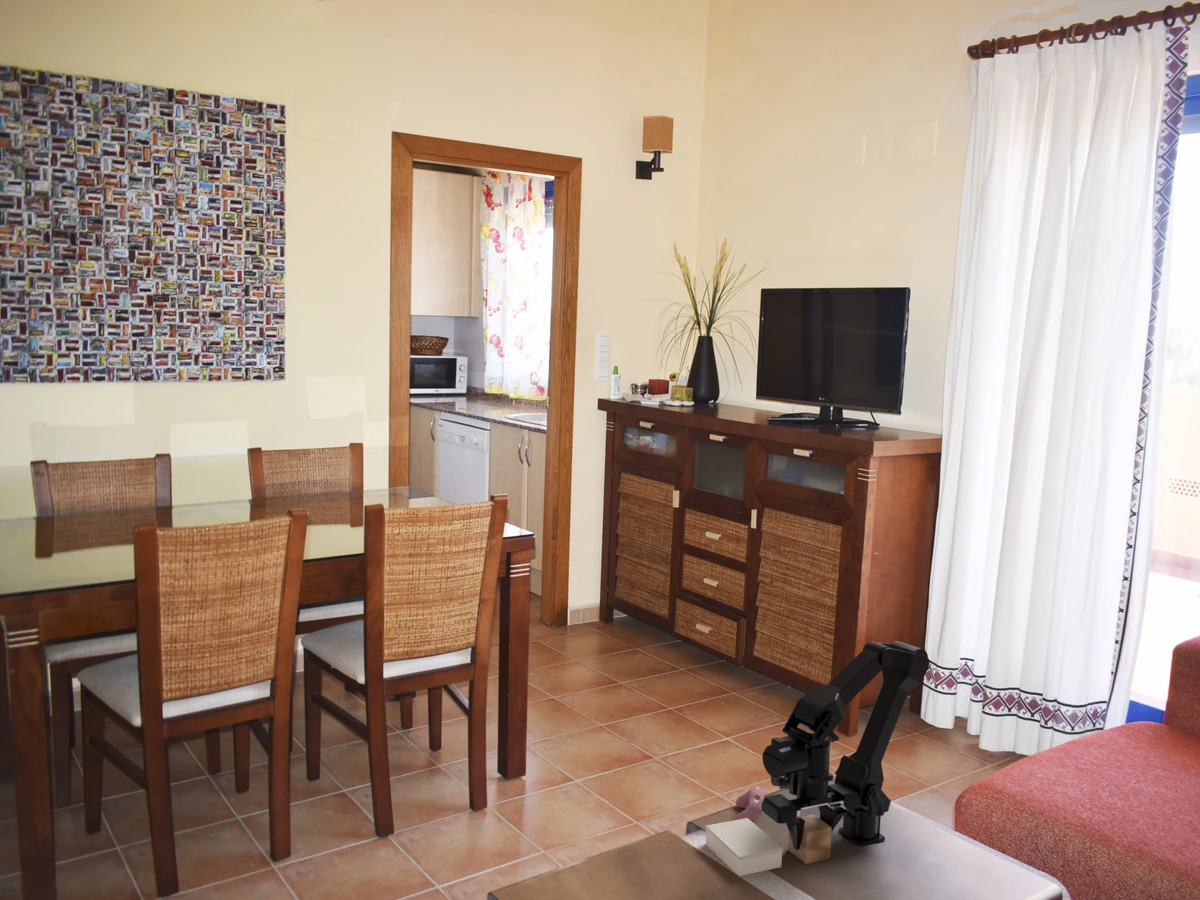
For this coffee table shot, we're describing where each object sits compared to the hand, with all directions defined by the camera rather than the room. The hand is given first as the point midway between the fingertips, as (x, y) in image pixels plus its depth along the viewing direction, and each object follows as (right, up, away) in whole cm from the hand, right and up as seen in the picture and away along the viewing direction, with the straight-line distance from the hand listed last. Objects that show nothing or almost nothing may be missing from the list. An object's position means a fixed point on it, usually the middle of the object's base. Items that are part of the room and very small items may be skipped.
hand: (809, 846), depth 180 cm
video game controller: (-9, 0, +14) cm, 17 cm away
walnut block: (0, -2, 0) cm, 2 cm away
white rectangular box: (-13, -2, -1) cm, 13 cm away
